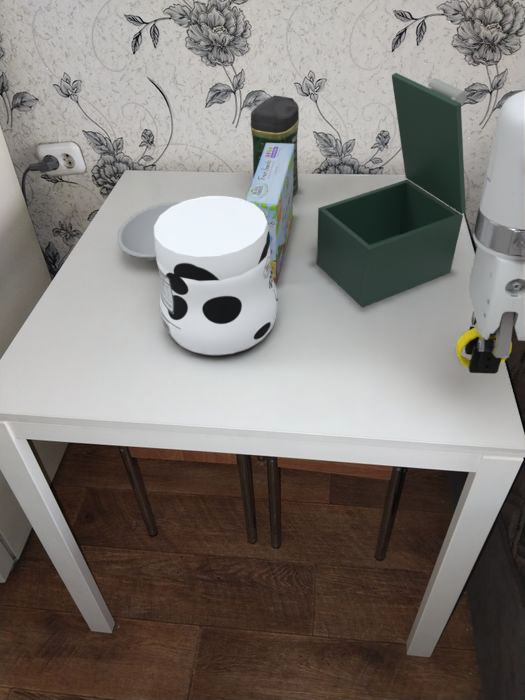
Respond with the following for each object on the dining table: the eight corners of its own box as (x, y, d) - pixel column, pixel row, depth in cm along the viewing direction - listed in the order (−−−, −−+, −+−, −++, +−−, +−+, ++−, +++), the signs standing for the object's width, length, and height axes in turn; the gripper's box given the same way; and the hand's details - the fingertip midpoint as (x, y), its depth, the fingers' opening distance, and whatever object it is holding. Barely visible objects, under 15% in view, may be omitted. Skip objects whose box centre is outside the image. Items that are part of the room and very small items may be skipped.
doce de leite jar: (296, 307, 93) (296, 205, 80) (245, 381, 82) (237, 276, 69) (201, 281, 99) (188, 182, 86) (142, 346, 88) (117, 243, 75)
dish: (177, 288, 97) (173, 263, 94) (104, 270, 102) (98, 246, 98) (223, 233, 109) (221, 209, 105) (156, 219, 113) (152, 196, 110)
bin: (362, 307, 92) (368, 249, 85) (316, 263, 101) (318, 207, 93) (450, 272, 98) (463, 215, 90) (399, 234, 107) (407, 179, 99)
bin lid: (456, 106, 76) (486, 86, 77) (391, 75, 85) (419, 57, 85) (461, 214, 90) (487, 197, 90) (405, 178, 99) (429, 162, 99)
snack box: (280, 286, 97) (278, 204, 86) (246, 283, 98) (241, 202, 87) (295, 217, 112) (295, 141, 101) (265, 216, 113) (263, 140, 102)
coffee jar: (285, 211, 114) (284, 115, 101) (248, 203, 116) (242, 109, 103) (303, 187, 120) (305, 94, 107) (268, 181, 123) (265, 89, 110)
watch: (501, 355, 71) (512, 318, 67) (508, 372, 69) (520, 334, 65) (451, 357, 72) (459, 320, 68) (456, 374, 70) (465, 336, 66)
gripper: (580, 275, 51) (528, 414, 64) (536, 187, 63) (500, 319, 76) (490, 274, 52) (456, 412, 65) (464, 187, 64) (439, 318, 76)
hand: (480, 361), depth 70 cm, fingers closed on watch, 2 cm apart
